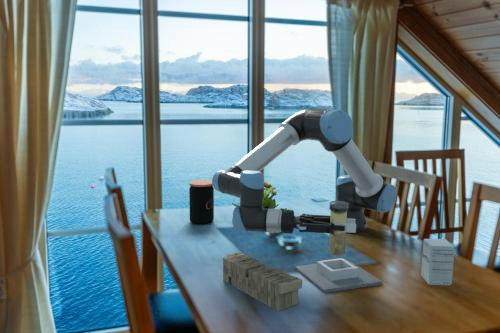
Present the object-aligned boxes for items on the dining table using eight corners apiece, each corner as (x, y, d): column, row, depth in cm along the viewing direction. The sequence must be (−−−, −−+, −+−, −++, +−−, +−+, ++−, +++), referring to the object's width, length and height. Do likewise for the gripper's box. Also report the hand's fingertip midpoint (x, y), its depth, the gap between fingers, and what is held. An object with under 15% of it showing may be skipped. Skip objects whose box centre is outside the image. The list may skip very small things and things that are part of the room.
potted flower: (294, 214, 230) (295, 178, 228) (281, 227, 208) (282, 187, 205) (245, 209, 238) (245, 174, 236) (227, 222, 216) (227, 183, 213)
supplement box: (420, 276, 156) (423, 238, 154) (443, 276, 156) (446, 238, 153) (427, 285, 148) (430, 245, 146) (452, 285, 148) (455, 246, 146)
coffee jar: (209, 226, 209) (209, 185, 207) (186, 224, 212) (185, 184, 209) (216, 219, 220) (216, 180, 217) (194, 218, 222) (193, 179, 219)
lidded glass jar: (340, 248, 157) (342, 200, 154) (349, 254, 151) (352, 204, 149) (324, 250, 155) (326, 201, 152) (333, 256, 149) (335, 205, 147)
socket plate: (347, 262, 167) (347, 251, 167) (381, 284, 149) (382, 271, 148) (294, 269, 160) (295, 257, 160) (323, 293, 142) (324, 280, 141)
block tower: (220, 282, 152) (280, 314, 129) (219, 256, 151) (280, 283, 128) (240, 276, 157) (302, 306, 133) (240, 251, 155) (302, 277, 132)
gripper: (283, 225, 164) (354, 229, 160) (277, 241, 147) (356, 246, 143) (284, 203, 163) (355, 207, 159) (278, 216, 145) (357, 221, 141)
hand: (355, 225), depth 151 cm, fingers closed on lidded glass jar, 5 cm apart
